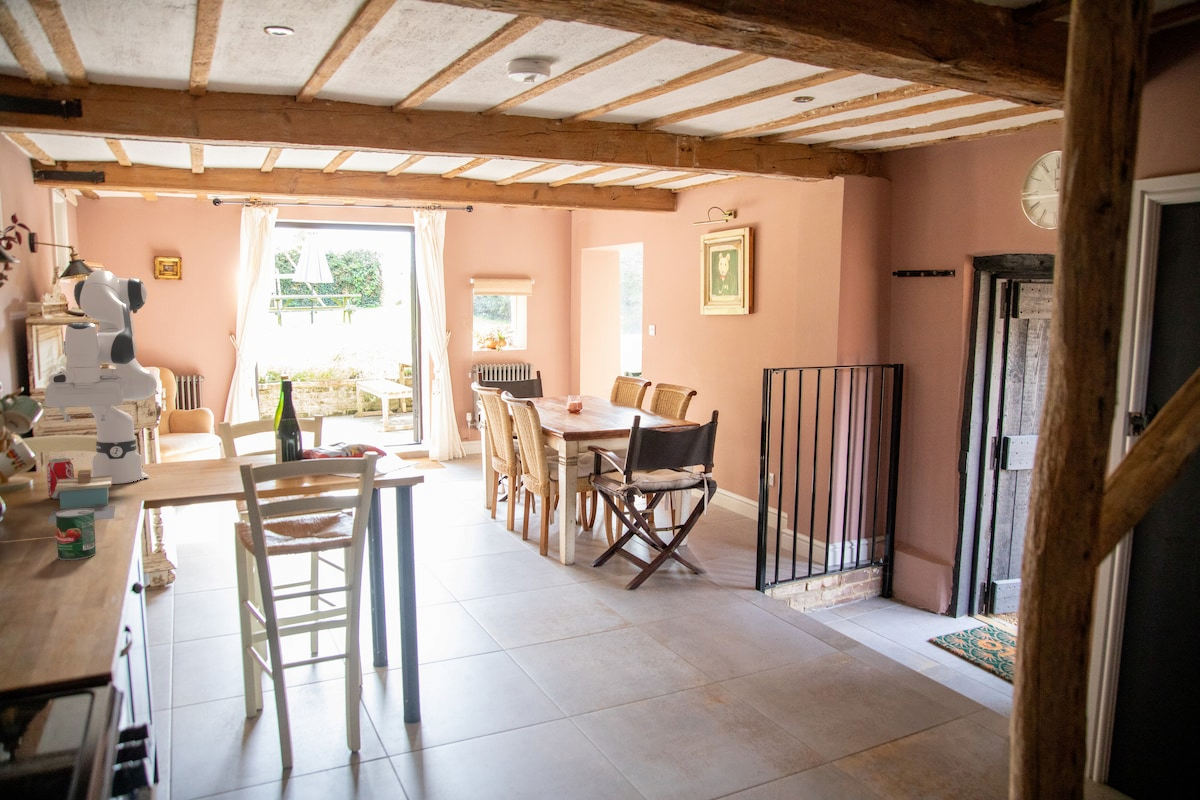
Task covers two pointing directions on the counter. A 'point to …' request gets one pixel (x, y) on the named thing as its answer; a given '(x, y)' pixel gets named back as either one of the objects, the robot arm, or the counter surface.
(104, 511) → the mat
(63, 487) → the lid
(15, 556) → the counter surface
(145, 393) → the robot arm
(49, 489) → the soda can
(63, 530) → the canned tomato
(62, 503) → the teal open box
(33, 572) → the counter surface
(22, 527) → the counter surface
